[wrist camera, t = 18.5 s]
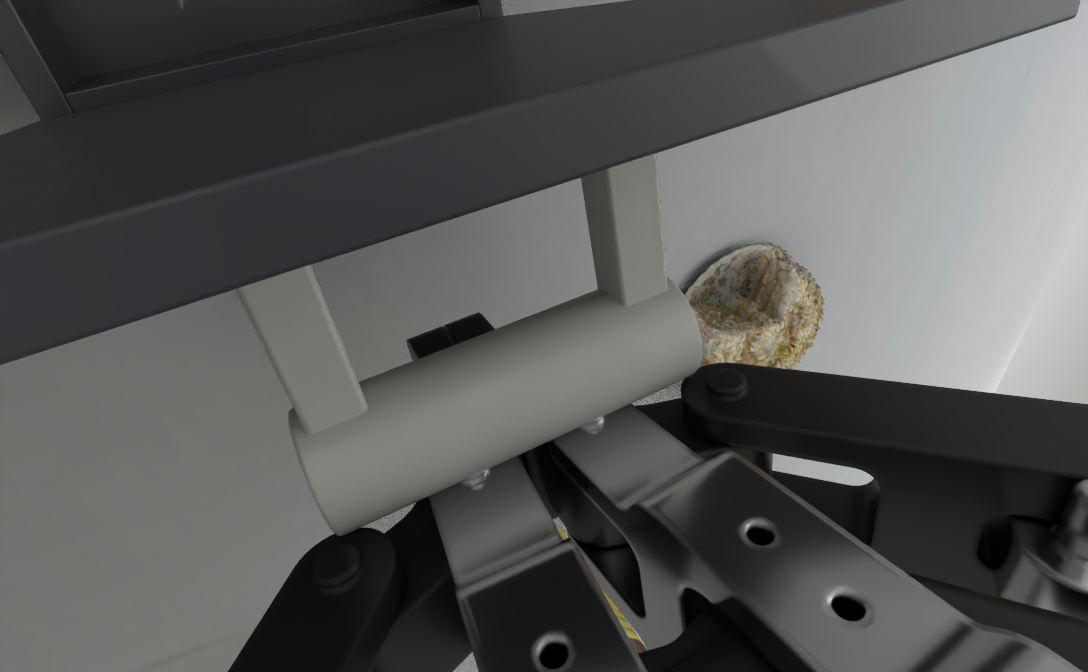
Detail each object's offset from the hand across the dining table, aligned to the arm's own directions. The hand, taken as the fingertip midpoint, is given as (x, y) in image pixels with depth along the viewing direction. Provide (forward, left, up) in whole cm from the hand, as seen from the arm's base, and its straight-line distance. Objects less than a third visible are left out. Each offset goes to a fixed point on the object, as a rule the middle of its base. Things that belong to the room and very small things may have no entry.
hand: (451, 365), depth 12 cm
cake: (+24, +7, -16) cm, 30 cm away
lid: (-4, +3, -3) cm, 6 cm away
